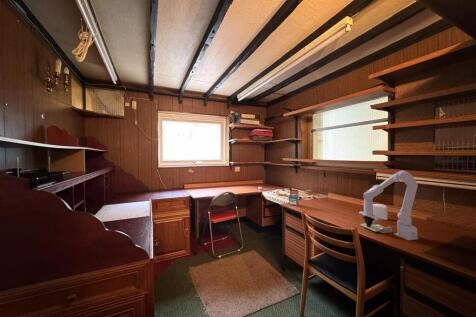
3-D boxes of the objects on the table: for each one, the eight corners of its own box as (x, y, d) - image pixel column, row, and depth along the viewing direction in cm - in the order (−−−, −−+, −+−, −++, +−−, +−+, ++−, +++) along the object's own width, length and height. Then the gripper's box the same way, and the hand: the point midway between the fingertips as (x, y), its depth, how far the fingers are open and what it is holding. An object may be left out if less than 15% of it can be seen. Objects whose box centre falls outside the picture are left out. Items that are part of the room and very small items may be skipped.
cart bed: (392, 232, 129) (391, 227, 129) (382, 233, 128) (382, 228, 128) (375, 225, 142) (375, 220, 142) (366, 226, 141) (366, 221, 141)
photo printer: (372, 217, 159) (371, 203, 159) (373, 216, 162) (373, 202, 162) (387, 220, 151) (386, 205, 151) (388, 219, 154) (388, 204, 154)
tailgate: (381, 229, 128) (375, 230, 127) (381, 230, 128) (375, 231, 127) (366, 223, 141) (360, 223, 140) (366, 224, 141) (360, 225, 140)
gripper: (355, 206, 140) (356, 223, 140) (372, 211, 126) (373, 231, 126) (363, 205, 141) (364, 222, 141) (381, 210, 127) (381, 230, 127)
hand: (368, 226), depth 134 cm, fingers closed
